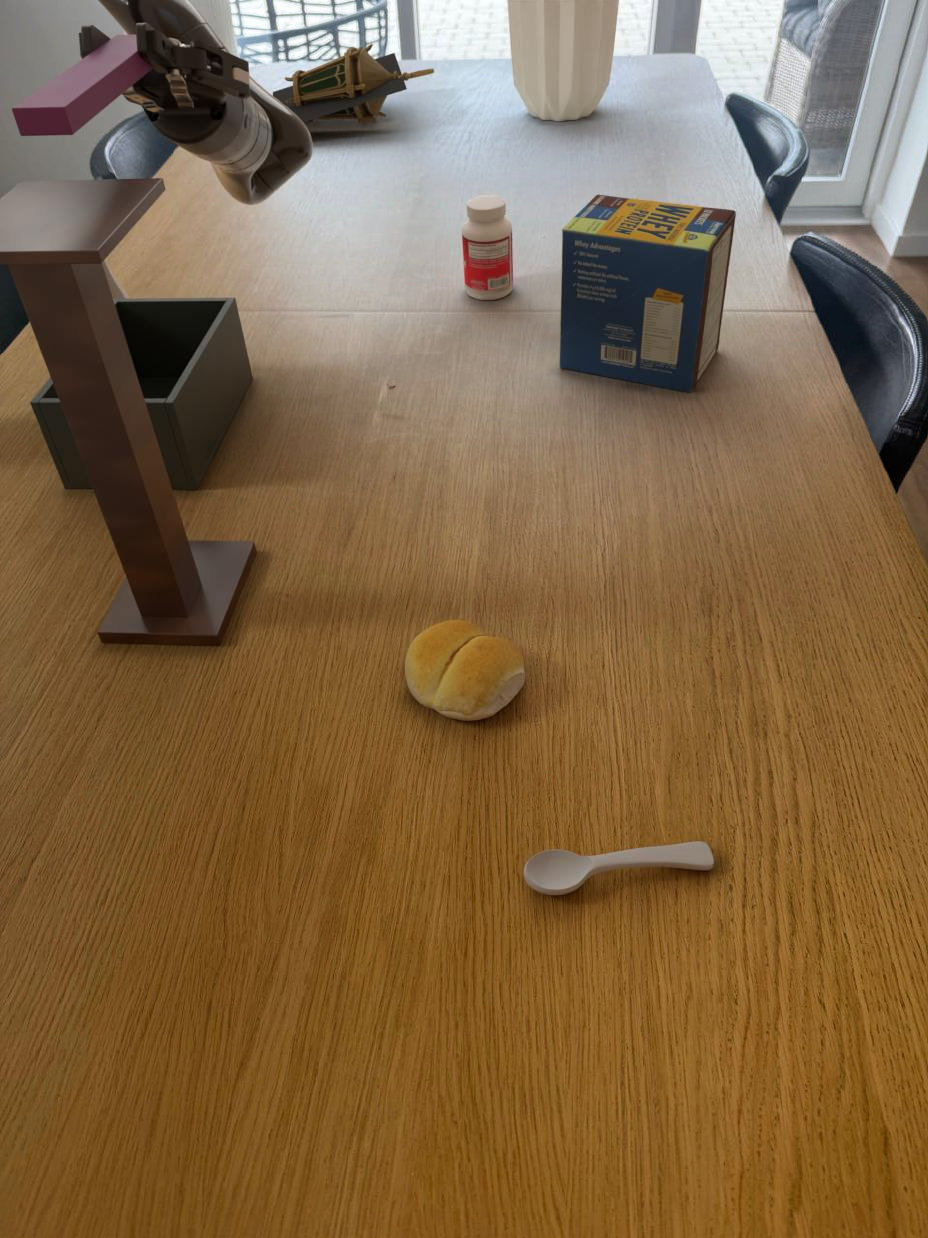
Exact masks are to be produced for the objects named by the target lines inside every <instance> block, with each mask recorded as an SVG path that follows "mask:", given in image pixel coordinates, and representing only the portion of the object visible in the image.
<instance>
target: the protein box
mask: <svg viewBox="0 0 928 1238" xmlns="http://www.w3.org/2000/svg"><path fill="white" fill-rule="evenodd" d="M736 217H737V212H736V210H735V209H726V208H718V207H717V208H716V207H705V206H700V205H690V204H689V205H688V204H681V203H671V202H664V201H655V200H649V199H648V200H647V199H639V198H629V197H620V196H613V195H605V194H596V195H594V197H593V198H592V199H591V200H590V201H589V202H588V203H587V204H586V205H585V206H584V207H583V208H582V209H581V210H580V211H579V212H578V213H577V214H576V215H575V216H573V217H572V219H570V220H569V221H568V222H567V223H566V224H565V225H564V226H563V227H562V229H561V239H562V240H561V284H560V319H559V321H560V326H559V357H558V358H559V360H558V361H559V362H558V363H559V364H558V365H559V366H558V367H559V368H560V369H566V370H571V371H576V372H581V373H586V374H590V375H597V376H601V377H607V378H611V379H617V380H622V381H627V382H632V383H638V384H642V385H643V384H644V385H648V386H653V387H658V388H664V389H670V390H674V391H680V392H684V393H691V392H693V391H694V389H695V387H696V386H697V384H698V382H699V381H700V379H701V378H702V377H703V375H704V373H705V371H706V370H707V368H708V366H709V364H710V363H711V362H712V360H713V358H715V355H716V353H717V351H718V350H719V346H720V339H721V338H720V337H721V329H722V322H723V313H724V307H725V298H726V293H727V292H726V291H727V283H728V276H729V268H730V262H731V261H730V260H731V254H732V248H733V240H734V239H733V238H734V232H735V225H736Z"/></svg>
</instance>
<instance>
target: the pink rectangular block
mask: <svg viewBox="0 0 928 1238" xmlns="http://www.w3.org/2000/svg"><path fill="white" fill-rule="evenodd" d="M152 68H153V67H152V66H150V65H149V64H148V63H147V62H145V61H144V60H143V59H141V58H140V56H139V53H138V51H137V41H136V34H135V35H128V34H116V35H115V36H113V37H112V38H110V40H109V41H107V42H106V43H105V44H103V45H102V46H100V47H99V48H97V49H96V50H95V51H93V52H92V53H90V54H89V55H87V56H86V57H84V58H83V59H82V58H81V59H80V60H78V61H77V62H76V63H74V64H73V65H72V66H70V67H69V68H67V69H65V70H64V71H63V72H62V73H60V74H59V75H57V76H56V77H54V78H53V79H51V80H50V81H48V82H47V83H46V84H44V85H42V87H40V88H39V89H37V90H36V91H34V92H33V93H31V94H30V95H29V96H27V97H25V98H24V99H23V100H21V101H20V102H18V103H17V104H16V105H14V106H13V107H11V111H12V115H13V118H14V121H15V123H16V127H17V130H18V132H19V135H20V137H43V136H45V137H47V136H73V135H75V133H77V132H78V131H80V130H81V129H82V128H83V127H84V126H85V125H86V124H88V123H89V122H90V121H91V120H92V119H93V118H95V117H96V116H97V115H99V114H100V113H101V112H103V110H104V109H105V108H107V107H108V106H110V104H112V103H113V102H114V101H115V100H116V99H118V98H119V97H120V96H122V93H124V92H125V91H126V90H127V89H128V88H130V87H131V86H132V85H133V84H134V83H136V82H137V81H138V80H139V79H140V78H142V77H143V76H144V75H145V74H146V73H148V72H149V71H150V70H151V69H152Z"/></svg>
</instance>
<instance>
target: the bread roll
mask: <svg viewBox="0 0 928 1238" xmlns="http://www.w3.org/2000/svg"><path fill="white" fill-rule="evenodd" d="M404 659H405V661H404V676H405V681H406V685H407V687H408V690H409V692H410V693H411V695H412V697H413V698H414V699H415V700H416V701H417V702H418V703H419V704H420V705H422V706H423V707H425V708H427V709H431V710H434V711H435V712H437V713H439V714H440V715H442V716H443V717H446V718H448V719H454V720H458V721H469V722H470V721H471V722H472V721H480V720H483V719H487V718H490V717H492V716H494V715H496V714H497V713H498V712H500V710H502V709H503V708H505V707H506V706H508V705H509V703H510V702H512V700H513V699H515V697H516V696H517V694H518V693H519V692H520V691H521V689H522V688H523V686H524V683H525V680H526V676H527V675H526V672H525V659H524V656H523V655H522V653H521V651H520V650H519V648H518V647H516V646H515V645H514V644H513V642H511V641H510V640H508V639H505V638H501V637H497V636H491V635H489V636H488V635H487V633H486V632H485V631H484V630H483V629H482V628H481V627H480V626H479V625H477V624H476V623H473V622H470V621H467V620H461V619H450V620H445V621H442V622H441V621H440V622H438V623H436V624H433V625H432V626H429V627H428V628H426V629H424V630H422V632H420V633H419V634H418V635H416V637H415V638H414V639H413V640H412V641H411V643H410V645H409V647H408V650H407V653H406V655H405V658H404Z"/></svg>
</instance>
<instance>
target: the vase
mask: <svg viewBox="0 0 928 1238" xmlns="http://www.w3.org/2000/svg"><path fill="white" fill-rule="evenodd" d="M619 4H620V0H507V13H508V14H507V17H508V28H509V29H508V30H509V43H510V44H509V45H510V58H511V67H512V78H513V86H514V87H515V90H516V91H517V93H518V95H519V97H520V99H521V101H522V102H523V104H524V106H525V108H526V109H527V111H528V113H529V115H530V116H531V117H533V118H537V119H540V120H542V121H554V122H564V121H577V120H579V119H581V118H587V117H590V115H591V114H592V113H594V112H595V111H596V109H597V108H598V106H599V104H600V102H601V100H602V99H603V97H604V95H605V93H606V91H607V89H608V86H609V85H610V81H611V74H612V66H613V58H614V51H615V44H616V43H615V41H616V32H617V23H618V16H619V15H618V13H619Z"/></svg>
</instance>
